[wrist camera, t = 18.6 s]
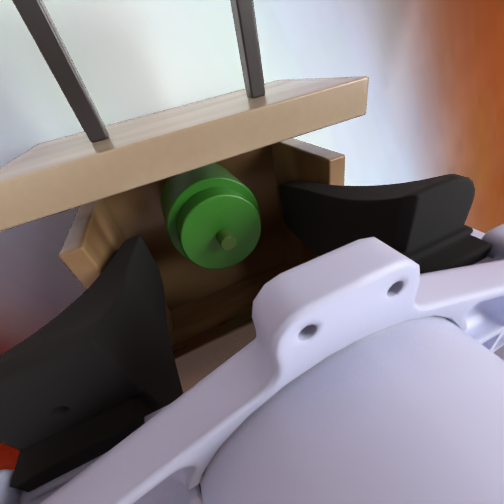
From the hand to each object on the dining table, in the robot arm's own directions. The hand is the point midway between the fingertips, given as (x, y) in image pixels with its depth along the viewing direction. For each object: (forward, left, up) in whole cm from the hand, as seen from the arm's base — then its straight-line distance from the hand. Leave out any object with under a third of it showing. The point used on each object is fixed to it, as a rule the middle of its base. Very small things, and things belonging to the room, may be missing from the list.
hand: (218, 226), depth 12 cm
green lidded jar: (0, 0, -3) cm, 3 cm away
